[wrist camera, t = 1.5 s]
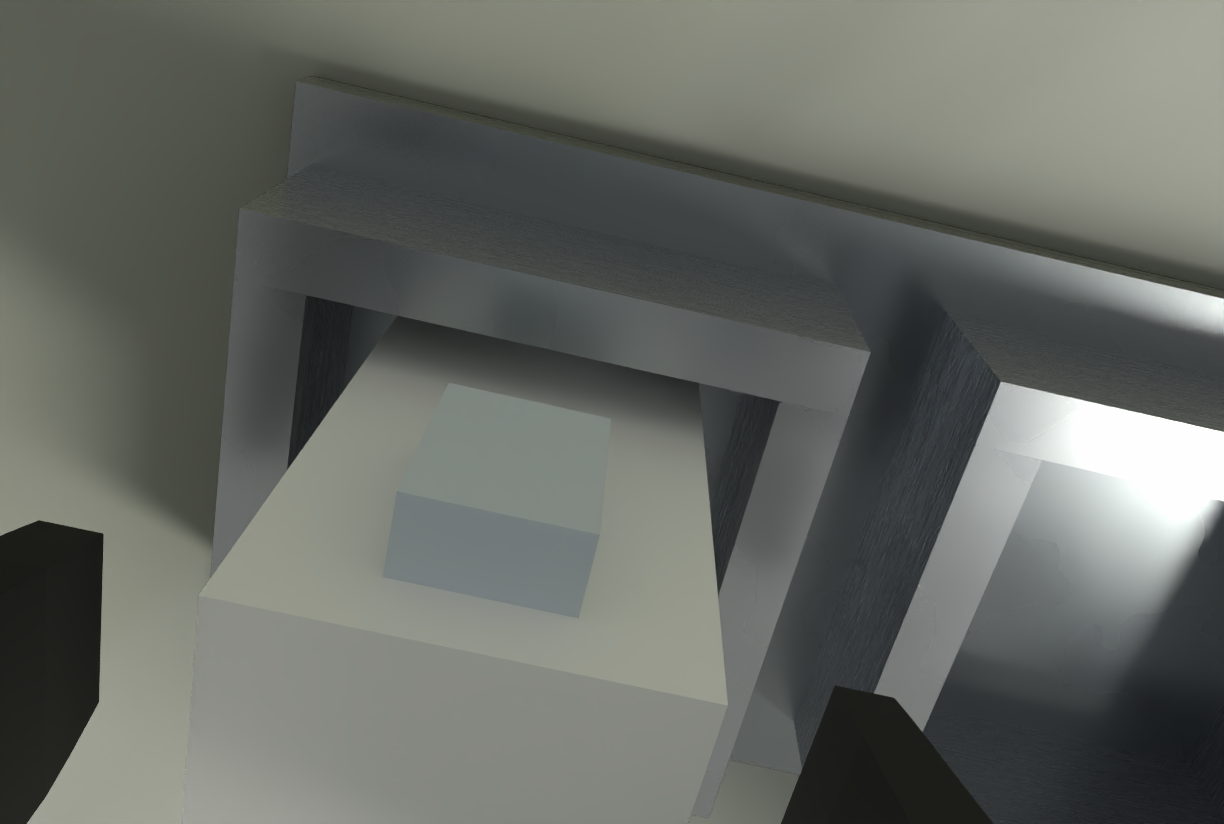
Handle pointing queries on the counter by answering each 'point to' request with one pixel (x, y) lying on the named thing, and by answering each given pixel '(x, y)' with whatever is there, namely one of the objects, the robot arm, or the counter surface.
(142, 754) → the counter surface
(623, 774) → the plug
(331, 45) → the counter surface
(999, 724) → the panel
